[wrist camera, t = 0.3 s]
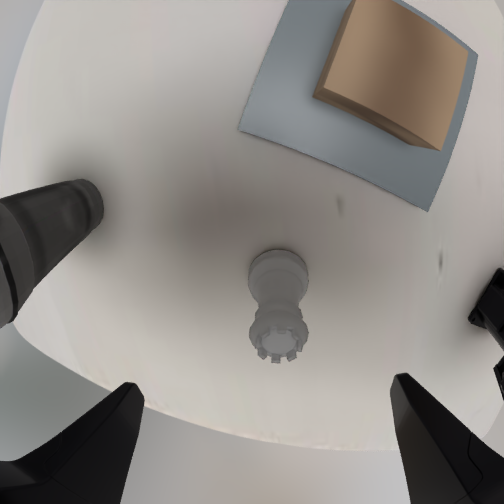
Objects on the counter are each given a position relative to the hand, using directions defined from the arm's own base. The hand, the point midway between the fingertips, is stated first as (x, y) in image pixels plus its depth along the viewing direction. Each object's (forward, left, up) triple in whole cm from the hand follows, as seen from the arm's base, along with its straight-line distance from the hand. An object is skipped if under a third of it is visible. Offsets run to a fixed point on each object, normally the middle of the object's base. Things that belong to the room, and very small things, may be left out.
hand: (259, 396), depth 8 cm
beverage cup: (+15, +2, -13) cm, 21 cm away
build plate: (-3, -14, -13) cm, 19 cm away
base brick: (-3, -14, -12) cm, 18 cm away
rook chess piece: (-2, +2, -13) cm, 14 cm away
